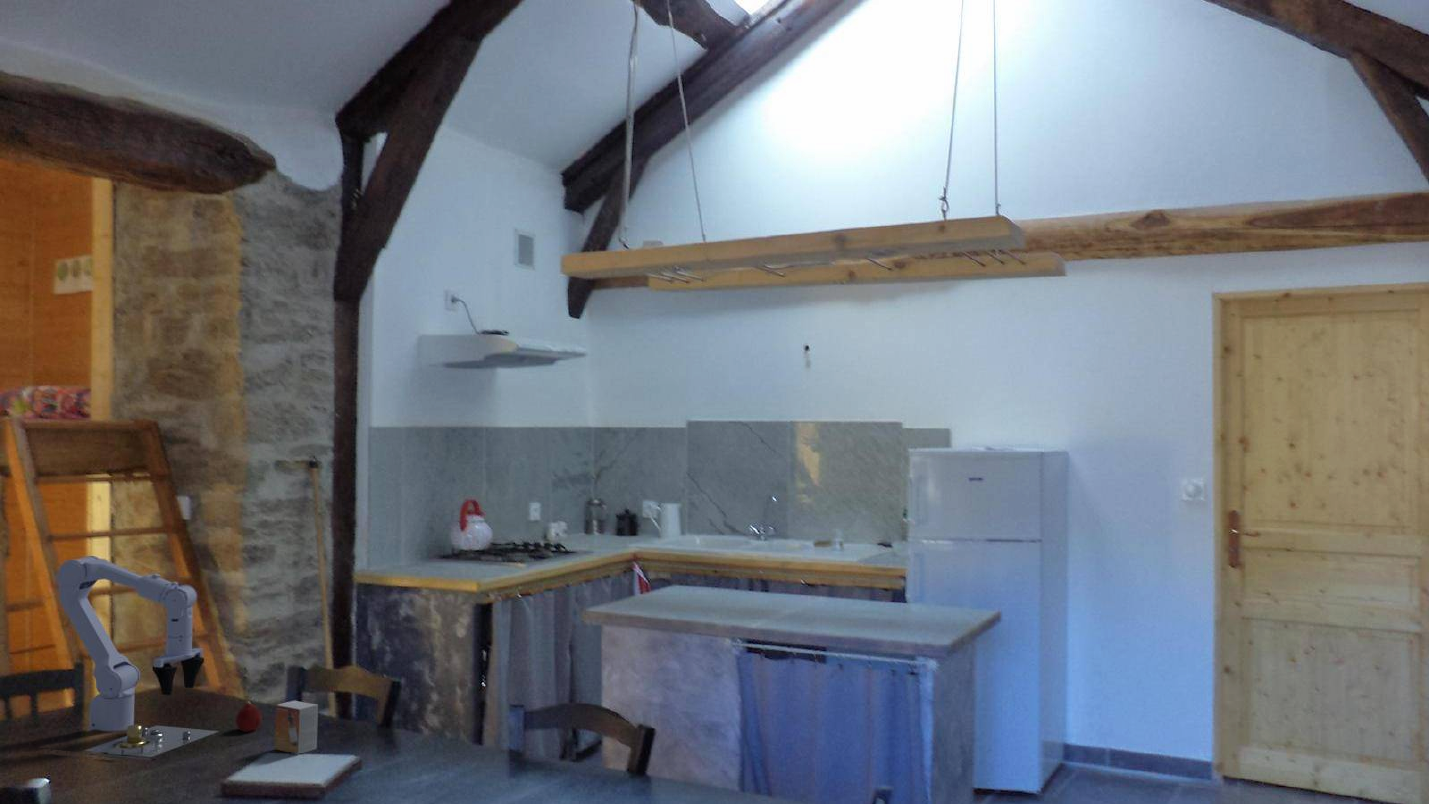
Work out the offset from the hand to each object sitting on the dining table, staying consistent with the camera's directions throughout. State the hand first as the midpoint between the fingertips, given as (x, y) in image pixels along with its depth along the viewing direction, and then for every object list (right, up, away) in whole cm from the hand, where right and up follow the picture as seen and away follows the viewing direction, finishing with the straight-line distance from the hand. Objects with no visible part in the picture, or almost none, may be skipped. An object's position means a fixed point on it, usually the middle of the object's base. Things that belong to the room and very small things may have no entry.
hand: (178, 691), depth 268 cm
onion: (+18, -10, -2) cm, 21 cm away
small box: (+35, -10, -14) cm, 39 cm away
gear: (-1, -8, -18) cm, 20 cm away
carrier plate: (0, -10, -12) cm, 15 cm away
